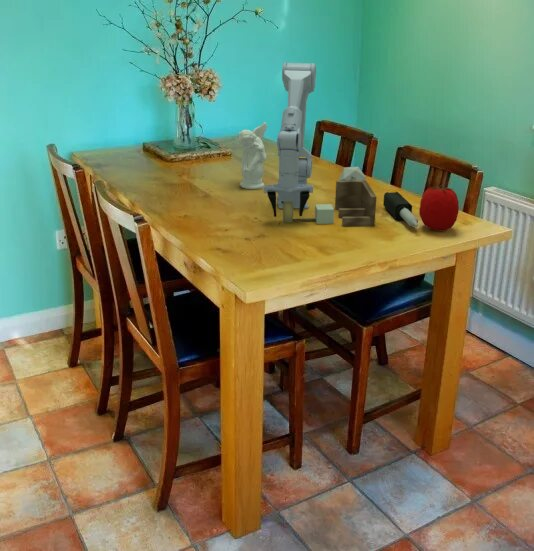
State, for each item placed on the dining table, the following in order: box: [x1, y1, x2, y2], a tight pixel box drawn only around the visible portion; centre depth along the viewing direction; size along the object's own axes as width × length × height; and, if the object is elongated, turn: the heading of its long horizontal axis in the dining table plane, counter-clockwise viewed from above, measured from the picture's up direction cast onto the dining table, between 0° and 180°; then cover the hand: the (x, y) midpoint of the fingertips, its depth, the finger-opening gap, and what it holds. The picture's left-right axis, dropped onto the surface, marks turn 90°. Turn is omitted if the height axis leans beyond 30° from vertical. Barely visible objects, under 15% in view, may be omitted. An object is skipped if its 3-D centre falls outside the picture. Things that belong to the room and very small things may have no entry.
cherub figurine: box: [238, 121, 268, 190], centre depth 241 cm, size 12×12×22 cm
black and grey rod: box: [382, 191, 419, 228], centre depth 210 cm, size 5×5×25 cm
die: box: [337, 166, 367, 181], centre depth 238 cm, size 8×9×10 cm
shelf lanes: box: [334, 180, 377, 227], centre depth 211 cm, size 10×17×9 cm, turn 2°
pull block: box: [282, 201, 335, 225], centre depth 208 cm, size 15×5×6 cm, turn 94°
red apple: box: [418, 183, 460, 232], centre depth 201 cm, size 12×12×13 cm
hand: (287, 215), depth 208 cm, fingers open, 7 cm apart
